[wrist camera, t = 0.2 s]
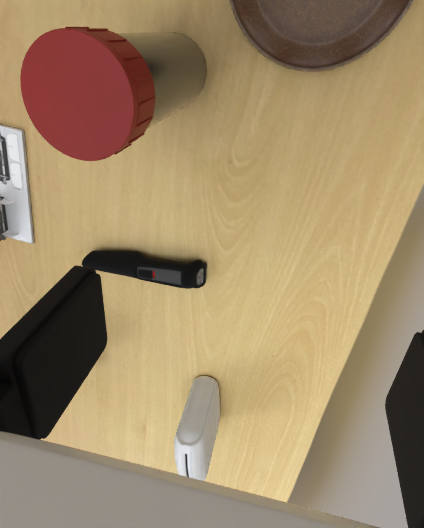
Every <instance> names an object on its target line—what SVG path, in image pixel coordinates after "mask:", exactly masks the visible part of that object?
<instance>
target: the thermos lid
mask: <svg viewBox="0 0 424 528" xmlns="http://www.w3.org/2000/svg"><path fill="white" fill-rule="evenodd" d="M21 91H22V97H23V101H24V104H25V107H26V110H27V112H28V115H29V117H30V119H31V121H32V122H33V124H34V126H35V127H36V129H37V130H38V132H39V133H40V134H41V135H42V136H43V138H44V139H45V140H46V141H47V142H48V143H49V144H51V145H52V146H53V147H54V148H56V149H57V150H59V151H60V152H62V153H63V154H65V155H68V156H70V157H72V158H75V159H79V160H85V161H96V160H101V159H105V158H107V157H110V156H111V155H113V154H115V155H116V154H117V153H119V152H120V151H122V150H124V149H125V148H127V147H128V146H130V145H131V143H132V142H134V141H136V140H137V139H138V138H139V137H141V136H142V135H144V134H145V133H144V132H145V131H146V129H147V128H148V126H149V124H150V122H151V120H152V119H153V114H154V109H155V99H156V97H155V88H154V82H153V79H152V75H151V73H150V70H149V68H148V66H147V64H146V62H145V60H144V58H143V57H142V55H141V54H140V53H139V51H138V50H137V49H136V48H135V47H134V46H133V45H132V44H131V43H130V42H129V41H127V39H126V38H123V37H122V36H120V35H118V34H116V33H114V32H111V31H108V29H89V27H65V28H61V29H55V30H52V31H49V32H47V33H45V34H43V35H41V36H40V37H39V38H38V39H37V40H35V41H34V43H33V44H32V45H31V46H30V48H29V50H28V51H27V53H26V55H25V58H24V61H23V64H22V69H21Z"/></svg>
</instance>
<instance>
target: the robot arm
mask: <svg viewBox="0 0 424 528" xmlns="http://www.w3.org/2000/svg"><path fill="white" fill-rule="evenodd" d="M106 344H107V331H106V322H105V313H104V304H103V294H102V285H101V277H100V275H99V274H96V271H95V269H93V268H88V267H82V266H74V267H73V268H72V269H71V270H70V271H69V272H68V273H67V274H66V275H65V276H64V277H63V278H62V279H61V280H60V281H59V282H58V283H57V284H56V285H55V286H54V287H53V288H52V289H51V290H49V291H48V292H47V293H46V294H45V295H44V296H43V297H42V298H41V299H40V300H39V301H38V302H37V303H36V304H35V305H34V306H33V307H32V308H31V309H30V310H29V311H28V312H27V313H26V314H25V315H24V316H23V317H22V318H21V319H20V320H19V321H18V322H17V323H16V324H15V325H14V326H13V327H12V328H11V329H10V330H9V331H8V332H7V333H6V334H5V335H4V336H3V337H2V338H1V339H0V528H379V527H375V526H372V525H368V524H365V523H361V522H357V521H354V520H350V519H346V518H342V517H339V516H335V515H331V514H327V513H323V512H320V511H316V510H312V509H308V508H305V507H301V506H297V505H293V504H289V503H286V502H282V501H278V500H274V499H271V498H267V497H263V496H259V495H255V494H251V493H248V492H244V491H240V490H236V489H232V488H228V487H224V486H221V485H217V484H213V483H209V482H205V481H201V480H197V479H194V478H190V477H186V476H182V475H178V474H174V473H170V472H166V471H163V470H159V469H155V468H151V467H147V466H143V465H139V464H135V463H131V462H127V461H123V460H119V459H115V458H111V457H107V456H103V455H99V454H96V453H92V452H88V451H84V450H80V449H76V448H72V447H68V446H64V445H60V444H55V443H51V442H47V441H43V440H40V439H41V438H43V439H44V438H46V437H47V436H48V435H49V434H50V432H51V431H52V429H53V428H54V426H55V424H56V423H57V421H58V420H59V418H60V417H61V415H62V414H63V412H64V411H65V409H66V408H67V406H68V405H69V403H70V401H71V400H72V398H73V397H74V395H75V394H76V392H77V391H78V389H79V388H80V386H81V385H82V383H83V381H84V380H85V378H86V377H87V375H88V374H89V372H90V371H91V369H92V368H93V366H94V365H95V363H96V361H97V360H98V358H99V357H100V355H101V354H102V352H103V351H104V349H105V347H106ZM385 409H386V415H387V420H388V424H389V430H390V435H391V441H392V446H393V451H394V456H395V461H396V467H397V472H398V477H399V482H400V487H401V492H402V497H403V503H404V508H405V513H406V519H407V524H408V528H424V330H423V331H422V333H419V332H417V333H416V334H415V335H414V337H413V339H412V341H411V343H410V346H409V348H408V350H407V352H406V355H405V357H404V359H403V361H402V364H401V366H400V368H399V370H398V373H397V375H396V377H395V379H394V381H393V384H392V386H391V388H390V390H389V393H388V395H387V398H386V404H385Z"/></svg>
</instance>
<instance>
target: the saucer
mask: <svg viewBox="0 0 424 528" xmlns="http://www.w3.org/2000/svg"><path fill="white" fill-rule="evenodd" d="M412 2H413V0H230V3H231V7H232V10H233V13H234V15H235V18H236V20H237V22H238V24H239V26H240V28H241V30H242V31H243V33H244V35H245V36H246V37H247V39H248V40H249V42H250V43H251V44H252V45H253V46H254V47H255V48H256V49H257V50H258V51H259V52H260V53H261V54H263V55H264V56H265V57H266V58H268V59H269V60H271V61H273V62H275V63H277V64H279V65H281V66H284V67H286V68H289V69H294V70H299V71H324V70H330V69H334V68H337V67H340V66H343V65H345V64H348V63H350V62H352V61H354V60H356V59H358V58H360V57H361V56H363V55H365V54H366V53H368V52H369V51H370V50H372V49H373V48H374V47H376V46H377V45H378V44H379V43H380V42H381V41H383V40H384V39H385V38H386V37H387V36H388V35H389V34H390V32H391V31H392V30H393V29H394V28H395V27H396V26H397V24H398V23H399V22H400V21H401V19H402V18H403V16H404V15H405V14H406V12H407V11H408V9H409V7H410V6H411V4H412Z"/></svg>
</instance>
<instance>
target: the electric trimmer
mask: <svg viewBox="0 0 424 528" xmlns="http://www.w3.org/2000/svg"><path fill="white" fill-rule="evenodd" d="M82 265H83V267H88V268H93V269H95V270H99V271H104V272H109V273H114V274H119V275H124V276H129V277H134V278H137V279H140V280H145V281H150V282H155V283H159V284H164V285H169V286H174V287H179V288H188V289H189V288H200V287H202V286H203V285H204V284H205V282H206V268H207V265H206V263H202V261H201V260H196V261H193V262H191V263H188V264H187V263H180V262H173V261H166V260H159V259H151V258H145V257H144V256H143V255H142V254H141V253H139V252H131V251H92V252H90V253H89V254H88V255H87V256H86V257H85V258H84V259H83V261H82Z"/></svg>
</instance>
